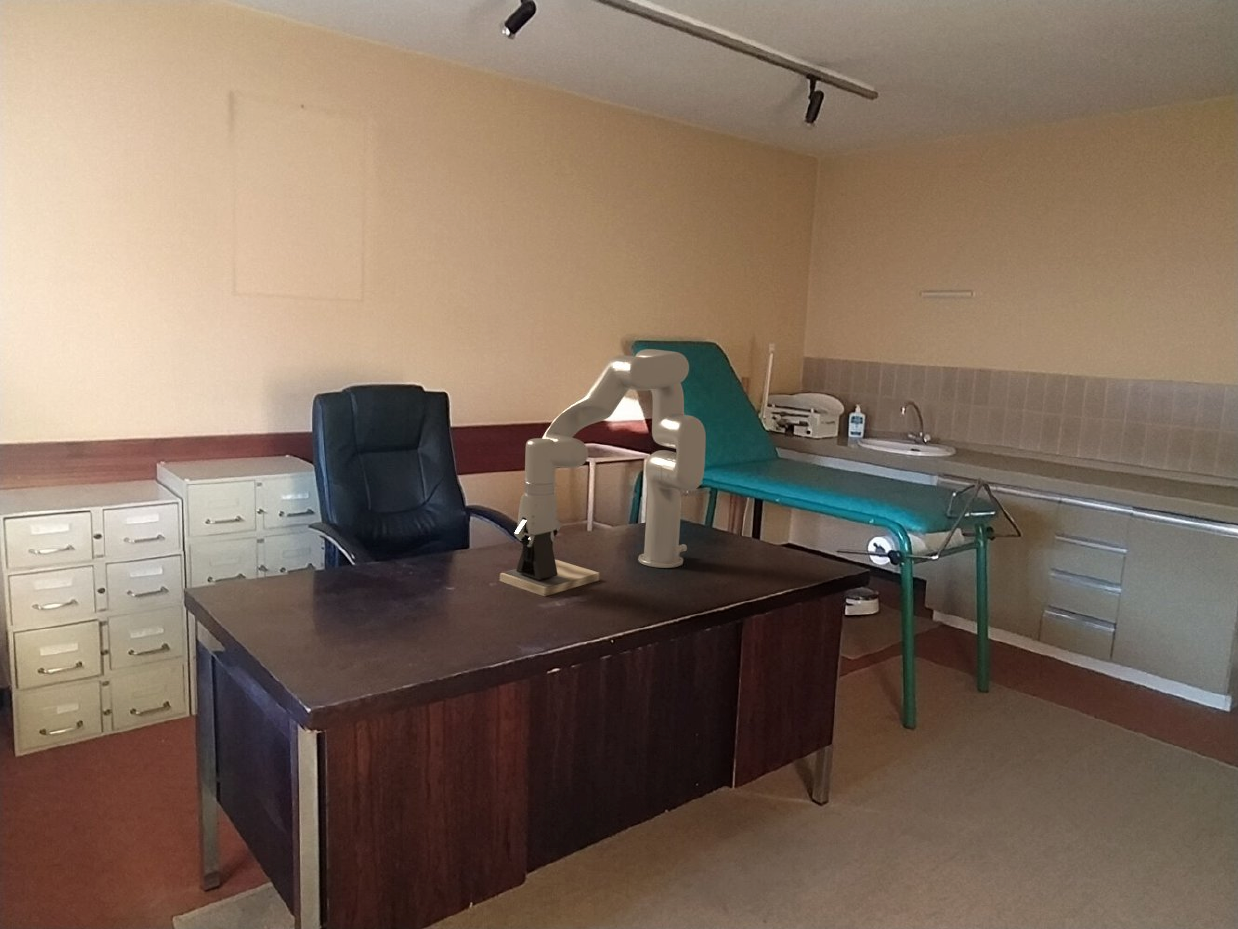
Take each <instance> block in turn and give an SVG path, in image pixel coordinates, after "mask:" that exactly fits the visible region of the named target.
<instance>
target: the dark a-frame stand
mask: <svg viewBox="0 0 1238 929" xmlns="http://www.w3.org/2000/svg"><path fill="white" fill-rule="evenodd" d="M527 531H528V530H527ZM527 540H529V536H528V537H527ZM532 547H533V562H531V563H530V562H527V561H524V560H523V549H522V550H521V554H520V557H519V560H518V564H517V567H516V569H517V570H516V571H517V572H518V573H521V574H524V575H526V576H529V577H532V578H535V579H538V580H542V579H545V578H549V577H553V576H557V575H558V573H557V568H556V563H555V552H554V549H553V548H552V543H551V532H548V533H544V534H539V535H535V537H534V540H533V543H532Z"/></svg>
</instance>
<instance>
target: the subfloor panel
mask: <svg viewBox="0 0 1238 929" xmlns="http://www.w3.org/2000/svg"><path fill="white" fill-rule="evenodd" d="M555 563H556V568H557V573H558V575H557V576H553V577H549V578H545V579H542V580H538V579H535V578H532V577H529V576H526V575H524V574H521V573H518V572H517V571H516V570H517V568H513V569H509V570H505V571H502V572H501V573H499V581H500V582H502V583H505V584H508V585H510V586H513V587H515V588H519V589H522V590H524V591H528V592H531V593H533V594H537V595H539V596H542V597H546V596H549V595H553V594H556V593H560V592H563V591H568V590H570V589H574V588H576V587H580V586H583V585H587V584H591V583H594V582H598V581H600V572H597V571H594V570H591V569H588V568H585V567H581V566H578V565H575V564H572V563H568V562H565V561H562V560H559V559H555Z"/></svg>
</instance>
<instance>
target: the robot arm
mask: <svg viewBox="0 0 1238 929" xmlns="http://www.w3.org/2000/svg"><path fill="white" fill-rule="evenodd" d="M689 371H690V364H689V361H688V360H687V357H686V356H685V355H684V354H682V353H680V352H677V351H672V350H671V351H670V350H663V349H653V348H650V349H649V348H645V349H642V350H641V349H640V350H639V351H637V353H636V354H635V356H634V355H626V354H625V355H623V354H621V355H620V354H619V355H616V356H613V357H611V358H610V359H609V360H608V361H607V363H606V364H605V365H604V367H603V369H602V370H601V371H600V373H599V374H598V376H597V377H596V378H595V380H594V381H593V383H592V384H591V386H590V387H589V389H588V390H587V391H586V393H585V394H584V395H583V397H582V398H580V399H579V400H577V401H576V402H574V403H573V404H572V405H570V406H569V407H568V408H566V409H565V410H564V411H562V412H560V413H559V415H558V416H556V418H554V420H553V421H552V422H551V424H550V426H549V427H548V428H547V429H546V431H545V432H544V433H543V436H542V437H540V438H537V437H536V438H531V439H527V441H526V443H525V455H524V456H525V457H524V458H525V462H524V492H523V494H522V495H521V497H520V500H519V508H518V516H517V528H516V530H515V532H514V533H513V534H514V535H513V536H515V537H516V539H517V540H518V541H519V542H520V544H521V546H522V550H523V560H524V561H527V562H530V563H531V562H533V547H532V543H533V540H534V537H535V535H539V534H544V533H548V532H551V543H552V548H553V546H554V545H553V543H554V542H555V541H556V538H555V537H556V536H557V535H558V532H559V531H560V529H561V528H562V523H561V522H560V521H559V519H558V517H559V516H558V515H559V514H558V500H557V494H556V486H557V483H556V469H557V468H563V469H577V468H579V467H582V466H583V465H584V464H586V462H587V461H588V460H587V459H588V457H589V449H588V446H587V445H586V444H585V443H584V442H583V441H582V440H581V439H578V438H574V436H575V435H576V434H577V433H578V432H580V430H582V429H583V428H585V427H588V426H590V425H592V424H595V423H599V422H602V421H605V420H606V419H609V418H610V417H611V416H612V415H613V413H614V412H615V410H616V409H617V407H618V406H619V405H620V403H621V401H622V400H623V399H624V397H625V396H626V394H627V393H628V391H629V390H634V391H639V392H644V391H646V392H647V391H651V396H652V397H651V398H652V416H651V417H652V419H651V423H652V425H651V436H652V438H653V441H654V442H655V443H656V444H658V445H659V446H663V447H666V448H671V449H675V450H676V452H675V451H671V450H664V449H663V450H656V451H654V452H652V453H651V454H650V455H649V456H648V458H647V459H646V463H645V466H644V467H645V469H644V470H645V479H646V488H647V491H646V492H647V494H646V495H647V496H646V498H647V499H646V513H645V514H646V516H645V532H644V534H645V535H644V550H643V553H641V554H639V555H638V559H637V560H638V562H639V563H640V564H642V565H645V566H648V567H652V568H659V569H660V568H661V569H664V568H665V569H669V568H671V569H672V568H677V567H679V566H682V565H683V563H684V558H683V557H682V556H680V554H681V553H682V552H685V551H687V550H688V547H687V545H686V544H684V543H683V544H680V543H679V541H680V531H681V530H680V529H681V528H680V527H681V516H682V514H681V513H682V496H681V491H684V492H692V491H695V490H696V489H698V488H699V487H700V486H701V483H702V482H703V479H704V474H705V466H706V465H705V463H706V462H705V461H706V438H707V436H706V430H705V426H704V424H703V423H702V422H701V420H700V419H699V418H697V417H696V416H693V415H688V414H685V405H684V404H685V403H684V401H685V400H684V399H685V398H684V390H683V386H682V384H681V383H682V382H684V380H685V379H686V378H687V376H688V375H689ZM527 530H528V531H527ZM528 536H529V540H527V537H528Z"/></svg>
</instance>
